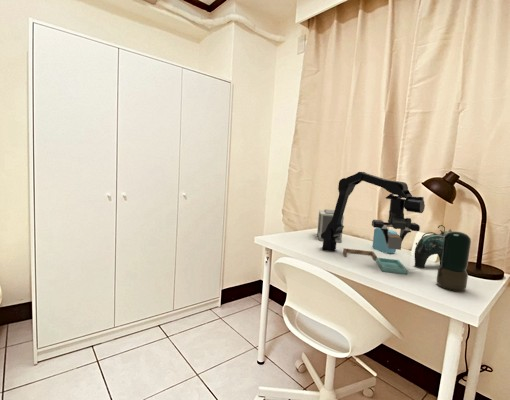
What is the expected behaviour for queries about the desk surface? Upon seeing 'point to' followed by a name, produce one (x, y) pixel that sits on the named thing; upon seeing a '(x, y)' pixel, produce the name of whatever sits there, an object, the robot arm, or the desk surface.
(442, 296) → the desk surface
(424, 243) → the travel neck pillow
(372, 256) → the grey brown u-shaped piece
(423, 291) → the desk surface
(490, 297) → the desk surface
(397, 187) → the robot arm
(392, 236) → the grey brown block
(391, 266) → the tray
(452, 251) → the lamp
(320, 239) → the alarm clock
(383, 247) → the data package
